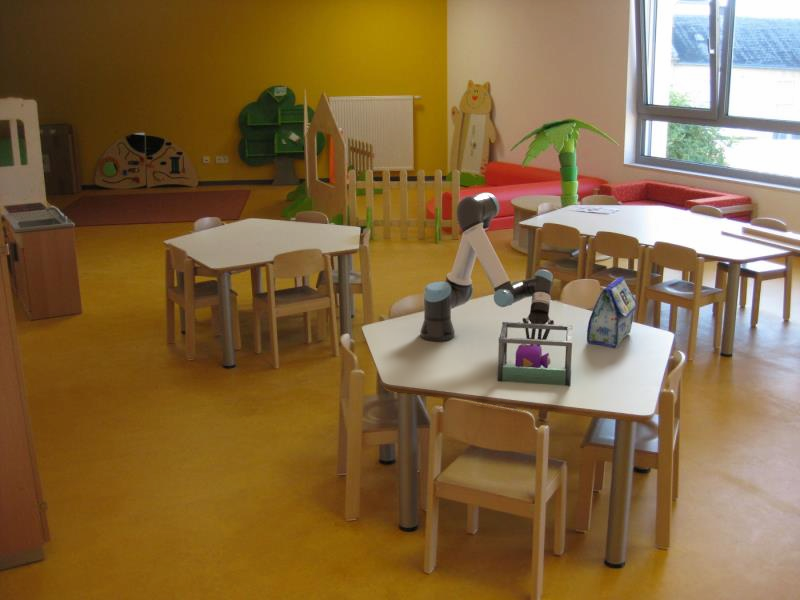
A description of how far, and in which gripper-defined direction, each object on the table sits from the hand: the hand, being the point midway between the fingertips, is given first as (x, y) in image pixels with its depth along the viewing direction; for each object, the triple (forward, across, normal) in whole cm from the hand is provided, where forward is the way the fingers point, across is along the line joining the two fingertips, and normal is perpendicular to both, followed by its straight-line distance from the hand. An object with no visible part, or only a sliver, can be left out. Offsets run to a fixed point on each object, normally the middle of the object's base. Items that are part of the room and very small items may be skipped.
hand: (533, 357), depth 340 cm
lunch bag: (-26, +28, +32) cm, 50 cm away
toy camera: (+6, 0, 0) cm, 6 cm away
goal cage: (+8, +1, -2) cm, 8 cm away
